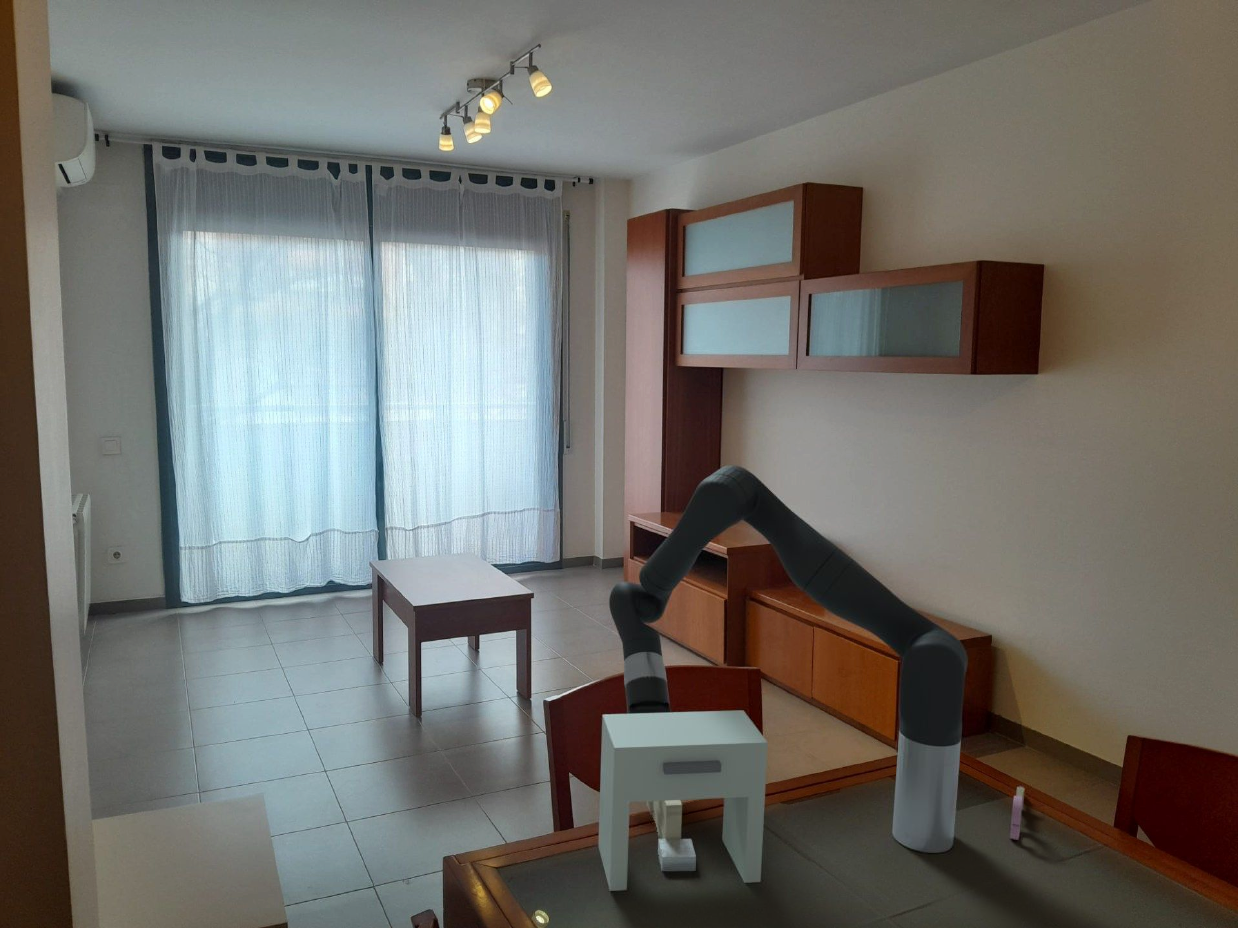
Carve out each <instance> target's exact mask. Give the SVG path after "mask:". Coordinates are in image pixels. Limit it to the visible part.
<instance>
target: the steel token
mask: <svg viewBox="0 0 1238 928" xmlns="http://www.w3.org/2000/svg"><path fill="white" fill-rule="evenodd" d="M657 854H658V855H659V856H658V861H659V864H660V865H661V866H660V869H661V872H693V871H696V869H697V868H696V866H697V865H696V864H697V855H696V851H695V848H694V845H693V840H692V838H681V839H660V838H658V842H657Z"/></svg>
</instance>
